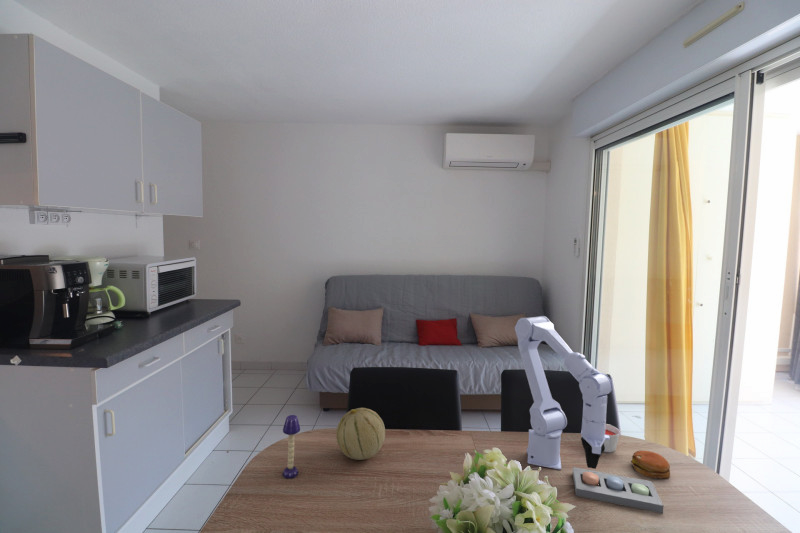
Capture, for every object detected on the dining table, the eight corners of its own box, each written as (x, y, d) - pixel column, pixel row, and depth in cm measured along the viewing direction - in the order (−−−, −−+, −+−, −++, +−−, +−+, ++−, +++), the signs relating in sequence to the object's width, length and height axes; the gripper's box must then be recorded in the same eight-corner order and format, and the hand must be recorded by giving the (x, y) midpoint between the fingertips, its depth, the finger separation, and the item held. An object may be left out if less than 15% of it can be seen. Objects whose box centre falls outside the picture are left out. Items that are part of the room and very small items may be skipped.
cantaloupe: (393, 460, 123) (395, 412, 122) (350, 475, 115) (351, 423, 114) (369, 440, 135) (370, 395, 134) (327, 452, 127) (328, 404, 126)
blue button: (607, 490, 109) (608, 483, 109) (605, 482, 113) (605, 475, 113) (624, 493, 108) (624, 486, 108) (621, 485, 112) (621, 478, 112)
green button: (632, 497, 107) (633, 490, 107) (629, 489, 111) (630, 482, 111) (650, 501, 106) (650, 493, 106) (646, 492, 110) (646, 485, 110)
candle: (624, 455, 130) (625, 435, 130) (596, 454, 130) (597, 434, 130) (610, 441, 139) (611, 423, 139) (583, 440, 139) (584, 422, 139)
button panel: (576, 495, 108) (576, 488, 108) (572, 473, 119) (572, 466, 119) (662, 513, 102) (663, 505, 102) (651, 488, 113) (651, 481, 112)
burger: (677, 477, 119) (678, 461, 118) (653, 482, 116) (654, 466, 115) (646, 459, 128) (647, 445, 128) (623, 464, 125) (624, 449, 125)
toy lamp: (303, 472, 115) (303, 415, 114) (292, 481, 111) (292, 421, 110) (289, 468, 117) (290, 411, 116) (278, 476, 113) (278, 418, 112)
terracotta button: (583, 485, 111) (583, 478, 111) (581, 477, 115) (581, 470, 115) (599, 488, 110) (599, 481, 110) (597, 480, 114) (597, 473, 113)
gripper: (615, 432, 103) (612, 484, 104) (606, 410, 117) (603, 456, 118) (584, 427, 105) (581, 478, 106) (579, 406, 119) (576, 452, 120)
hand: (591, 466), depth 112 cm, fingers closed
